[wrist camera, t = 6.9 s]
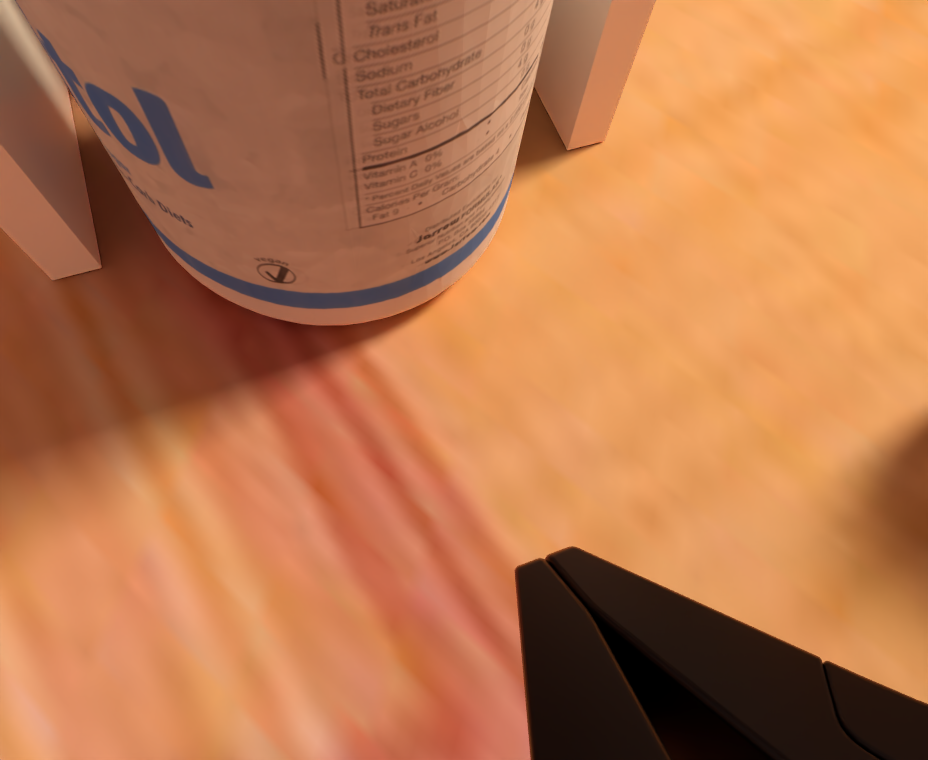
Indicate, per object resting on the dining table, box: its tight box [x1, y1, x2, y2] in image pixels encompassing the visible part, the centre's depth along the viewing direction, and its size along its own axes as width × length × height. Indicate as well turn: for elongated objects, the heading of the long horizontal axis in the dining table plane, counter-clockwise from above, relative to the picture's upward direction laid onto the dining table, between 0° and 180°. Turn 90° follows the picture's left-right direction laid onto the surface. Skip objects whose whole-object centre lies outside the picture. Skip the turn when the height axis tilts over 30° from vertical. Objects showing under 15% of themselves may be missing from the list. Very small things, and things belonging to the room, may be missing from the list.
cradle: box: [0, 0, 656, 280], centre depth 17 cm, size 8×15×6 cm, turn 110°
